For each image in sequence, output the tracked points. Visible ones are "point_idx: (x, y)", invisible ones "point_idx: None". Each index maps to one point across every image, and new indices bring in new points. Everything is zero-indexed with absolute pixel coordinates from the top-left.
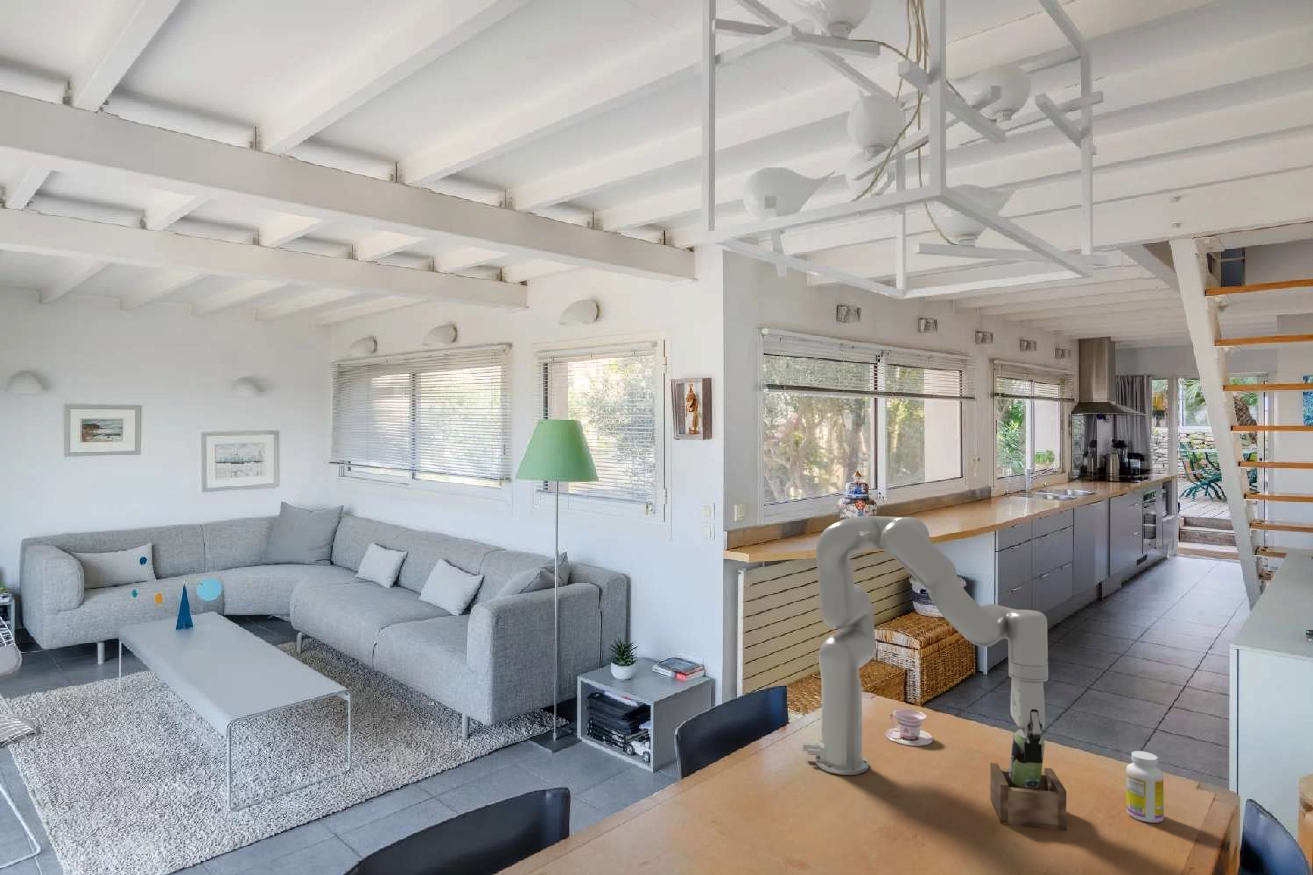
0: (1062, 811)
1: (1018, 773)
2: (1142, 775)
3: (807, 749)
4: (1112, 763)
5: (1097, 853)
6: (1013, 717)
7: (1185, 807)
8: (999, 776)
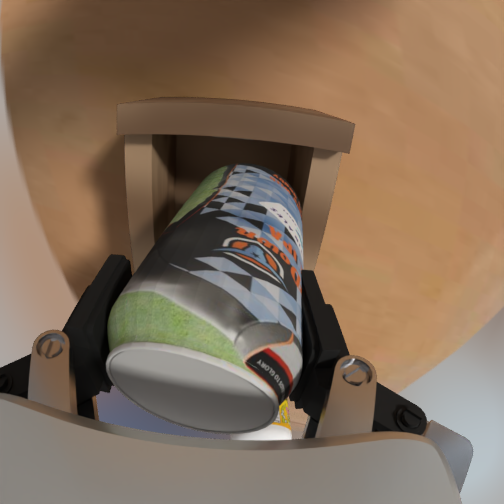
0: None
1: (188, 199)
2: (235, 438)
3: None
4: (423, 372)
5: (88, 269)
6: (238, 472)
7: (290, 409)
8: (200, 114)
